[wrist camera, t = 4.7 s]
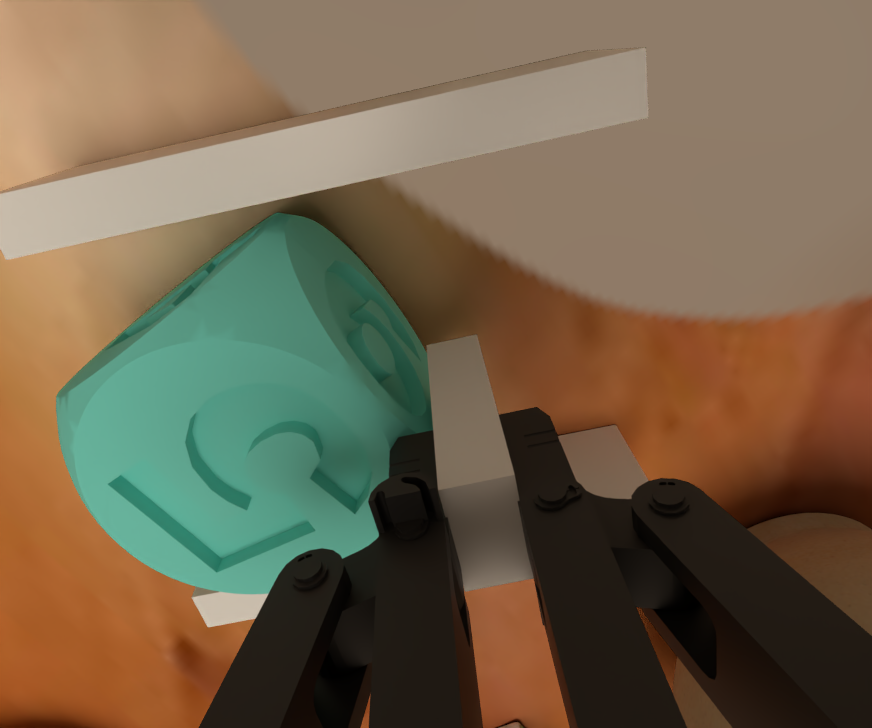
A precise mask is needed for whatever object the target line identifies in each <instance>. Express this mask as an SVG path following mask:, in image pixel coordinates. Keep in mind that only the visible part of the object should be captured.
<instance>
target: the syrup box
mask: <svg viewBox="0 0 872 728" xmlns="http://www.w3.org/2000/svg"><path fill="white" fill-rule="evenodd" d="M500 728H524V727H523V726H522V725H521V724H520V723H518V722H514V723H511V724H508V725H505V726H502V727H500Z"/></svg>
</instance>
